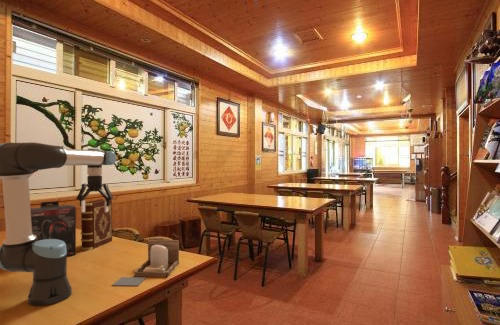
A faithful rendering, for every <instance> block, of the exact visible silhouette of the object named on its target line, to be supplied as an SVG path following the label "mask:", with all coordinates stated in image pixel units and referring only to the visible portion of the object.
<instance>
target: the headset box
mask: <svg viewBox="0 0 500 325" xmlns="http://www.w3.org/2000/svg"><path fill="white" fill-rule="evenodd" d="M76 211H77V207H76V206H75V205H71V204H68V205H67V204H66V205H60V204H59V201H58V200H57V201H56V200H54V201H41V203H40V205H39V207H35V208H31V222H32V233H33V234H34V235H36V236H37V241H39V240H44V239H58V240H62V241H64V242H65V244H66V249H67V257H71V256H76V255H77V253H76V252H77V250H76V249H77V247H76V245H77V243H76V239H77V237H76V235H77V233H76V232H77V231H76V230H77V229H76V227H77V225H76V223H77V221H76V220H77V219H76V218H77V217H76V216H77V213H76Z"/></svg>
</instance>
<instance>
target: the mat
mask: <svg viewBox="0 0 500 325" xmlns="http://www.w3.org/2000/svg"><path fill="white" fill-rule="evenodd" d="M146 278H147V277H134V276H131V277H130V276H128V277H127V276H124V277H123V276H121V277H120V278H118V279H117V280H116V281H115V282H114V283H113V284H112V285H111V286H112V287H139V286H140V285H141V283H143V282H144V281H145V280H146Z"/></svg>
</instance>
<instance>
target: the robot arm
mask: <svg viewBox="0 0 500 325" xmlns="http://www.w3.org/2000/svg"><path fill="white" fill-rule="evenodd" d="M116 162H117V156H116V153H115V152H114V151H112V150H110V151H109V150H102V149H101V148H87V149H75V148H73V149H72V148H64V147H63V146H60V145H53V144H46V143H39V142H3V143H0V180H1V181H2V183H1V184H2V193H3V194H2V195H3V207H4V221H5V222H4V223H5V235H6V237H5V239H3V241H2V243H1V246H0V269H1V270H4V271H8V272H13V273H15V272H17V273H19V272H20V273H32V285H31V287H30V290H29V293H28V296H27V304H28V305H29V306H32V307H33V306H34V307H43V306H44V307H45V306H50V305H53V304H56V303H60V302H62V301H64V300H66V299H68V298H69V297H70V296H71V295H72V294H73V292H72V289H73V288H72V286H71V284H70V281H69V280H70V279H68V276H67V273H68V272H67V271H68V269H67V268H68V267H67V266H68V265H67V263H68V259H67V258H68V256H67V249H66V244H65V242H64V241H62V240H58V239H44V240H39V241H37V236H36V235H34V234H33V233H32V222H31V209H32V208H31V195H30V182H29V180H30V177H31V176H32V175H33V173H34V172H33V171H42V170H49V169H60V168H62V167H64V166H87V170H86V172H87V175H88V176H87V177H86V178H87V179H86V180H87V183H82V184H81V188H80V190H79V192H78V194H77V196H76V198H75V199H76V200H77V201H79V207H80V208H81V209H80V212H85V202H86V200H85V199H86V198H87V197H88V196H89V194H90V193H91V192H98V193H99V194H100V195H101V196H102V197H103V199H105V200H106V201H105V200H104V201H105V212H108V206H110V200H111V199H112V200H114V197H113V194H112V193H111V190H110V188H109V184H108V183H103V176H102V175H103V166H113V165H114V164H116ZM86 188H87V189H86Z"/></svg>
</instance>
